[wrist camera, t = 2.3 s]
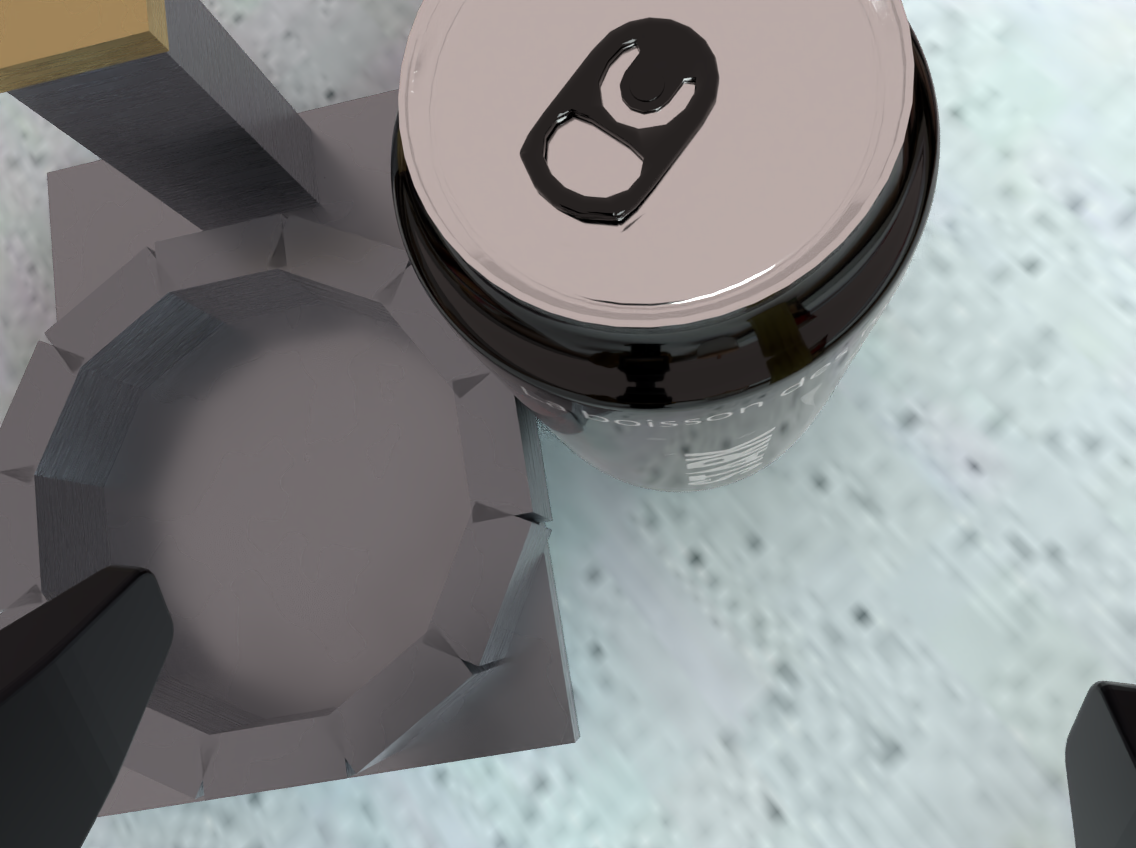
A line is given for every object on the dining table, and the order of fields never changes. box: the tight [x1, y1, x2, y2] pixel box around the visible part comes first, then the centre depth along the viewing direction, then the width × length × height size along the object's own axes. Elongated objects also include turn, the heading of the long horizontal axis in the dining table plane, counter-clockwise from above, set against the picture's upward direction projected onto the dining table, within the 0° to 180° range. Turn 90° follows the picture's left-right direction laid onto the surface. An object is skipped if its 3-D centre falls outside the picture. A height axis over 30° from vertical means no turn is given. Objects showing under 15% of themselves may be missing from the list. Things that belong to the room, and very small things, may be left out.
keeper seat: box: [0, 0, 580, 817], centre depth 19 cm, size 16×12×8 cm
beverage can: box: [391, 0, 940, 492], centre depth 16 cm, size 7×7×12 cm
